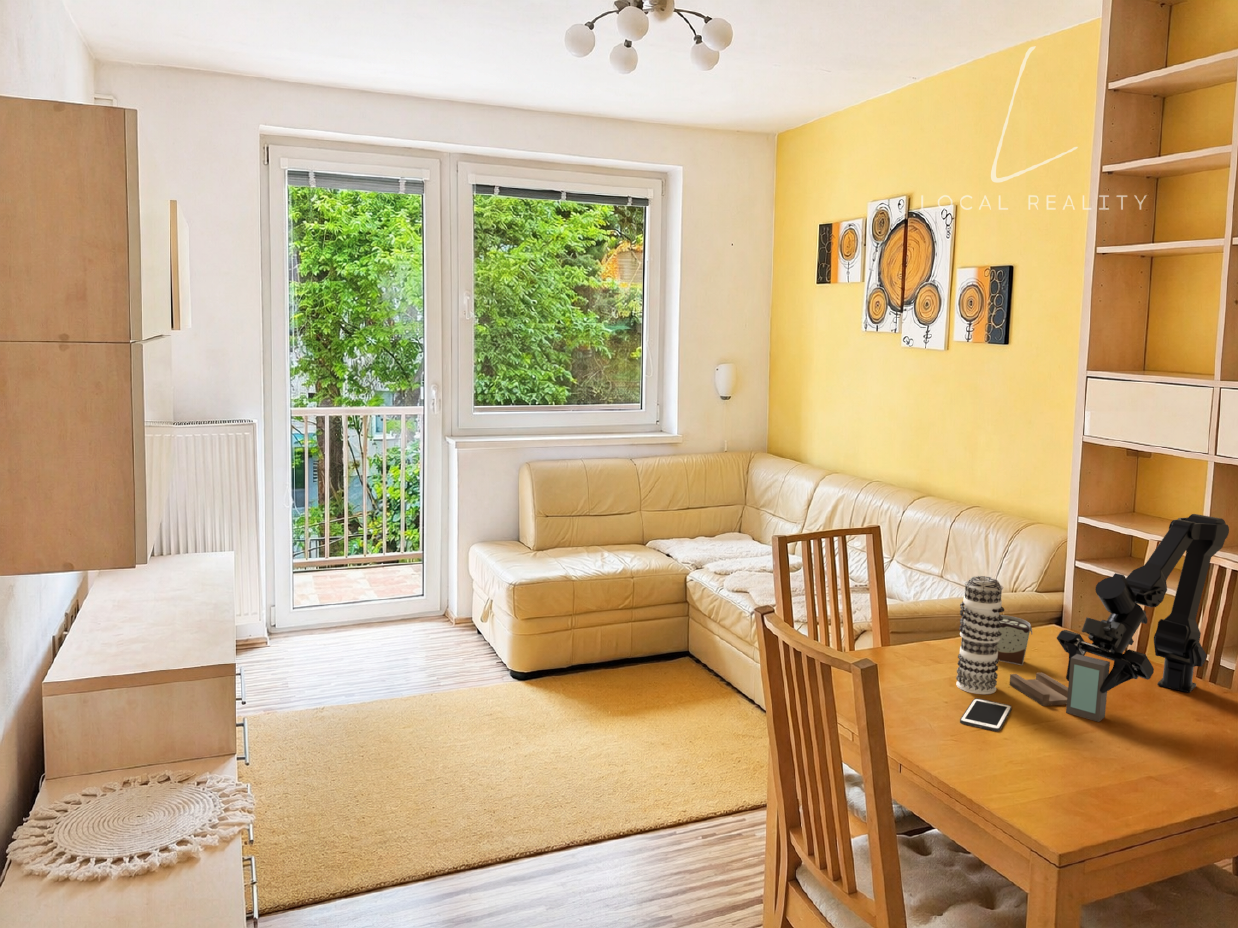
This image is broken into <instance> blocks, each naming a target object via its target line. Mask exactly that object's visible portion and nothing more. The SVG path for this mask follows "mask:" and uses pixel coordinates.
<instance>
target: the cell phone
mask: <svg viewBox="0 0 1238 928" xmlns="http://www.w3.org/2000/svg"><path fill="white" fill-rule="evenodd" d="M1011 711H1012V705H1011V704H1007V703H1003V702H997V701H992V700H989V699H984V698H976V697H975V698H973V699H972V701H971V702H970V704H969V705H968V706H967V708H966V710H965V711H964V712H963V714H962V716H961V717H960V719H959V723H960V724H962V725H965V726H970V727H972V728H973V727H974V728H975V727H976V728H979V729H982V730H986V731H990V732H997V733H998V732H1000V731H1001V730H1002V729H1003V726H1004V724H1005V722H1006V721H1007V719H1008V717H1009V715H1010V713H1011Z"/></svg>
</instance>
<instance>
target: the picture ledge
mask: <svg viewBox="0 0 1238 928" xmlns="http://www.w3.org/2000/svg"><path fill="white" fill-rule="evenodd" d="M1009 685H1010V687H1011V688H1014V689H1015V690H1016V691H1018V692H1020V693H1022V694H1023V695H1025V696H1026V697H1028V698H1029V699H1031V700H1033V702H1035V703H1037V704H1039V705H1041V706H1042V707H1046V706H1047V707H1048V706H1060V705H1063V706H1064V705H1067V695H1068V686H1066V685H1064V684H1063V683H1061V682H1060V681H1058V680H1056V679H1054V678H1053V677H1051V676H1049V675H1048V674H1046V673H1044V672H1036V673H1035V678H1034V679H1031V678H1030V679H1025V678H1024V677H1022V676H1020V675H1019V674H1018V673H1011V674H1009Z"/></svg>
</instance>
